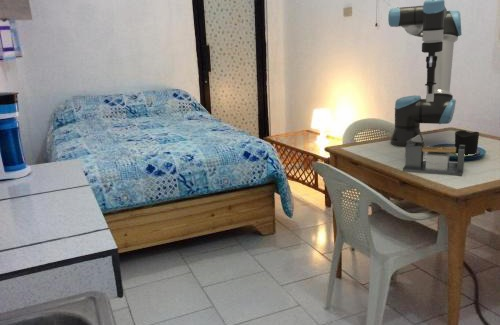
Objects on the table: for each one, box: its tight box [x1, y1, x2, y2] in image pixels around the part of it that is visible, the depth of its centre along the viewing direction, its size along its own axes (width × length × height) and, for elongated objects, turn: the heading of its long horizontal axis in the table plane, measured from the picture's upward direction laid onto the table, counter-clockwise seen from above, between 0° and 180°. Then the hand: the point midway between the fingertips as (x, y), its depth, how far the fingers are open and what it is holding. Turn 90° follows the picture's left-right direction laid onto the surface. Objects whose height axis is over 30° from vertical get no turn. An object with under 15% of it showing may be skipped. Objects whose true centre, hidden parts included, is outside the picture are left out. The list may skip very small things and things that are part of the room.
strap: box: [422, 146, 456, 153], centre depth 177 cm, size 15×4×1 cm, turn 63°
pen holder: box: [454, 129, 480, 155], centre depth 193 cm, size 9×9×10 cm
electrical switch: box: [406, 135, 426, 156], centre depth 196 cm, size 9×5×9 cm, turn 141°
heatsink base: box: [402, 141, 465, 177], centre depth 178 cm, size 22×13×10 cm, turn 63°
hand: (429, 101), depth 178 cm, fingers closed
